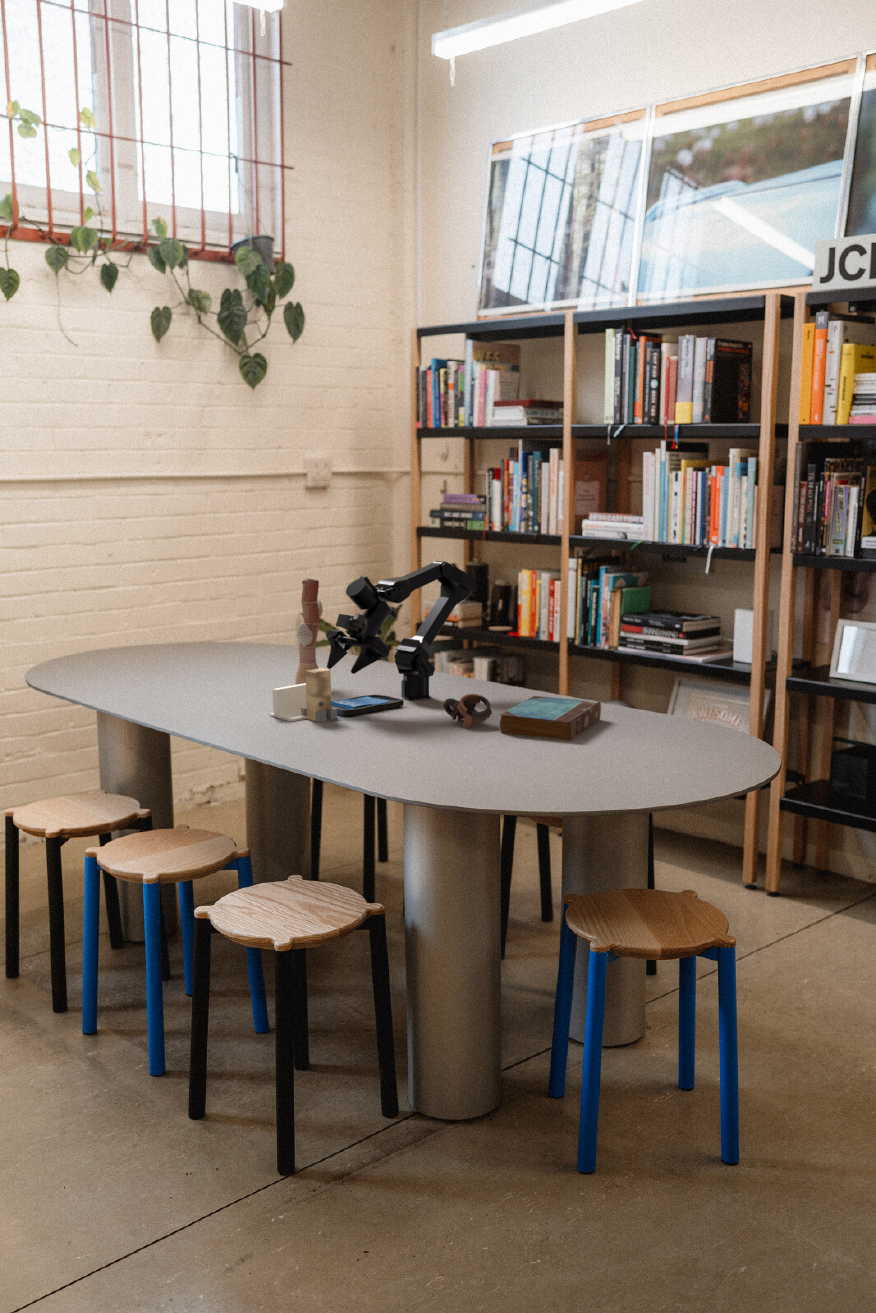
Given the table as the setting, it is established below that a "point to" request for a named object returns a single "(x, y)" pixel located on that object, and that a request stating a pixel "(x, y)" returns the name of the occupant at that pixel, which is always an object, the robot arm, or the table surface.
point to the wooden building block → (318, 692)
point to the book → (550, 717)
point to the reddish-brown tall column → (308, 629)
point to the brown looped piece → (468, 709)
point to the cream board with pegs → (295, 704)
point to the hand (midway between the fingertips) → (340, 670)
